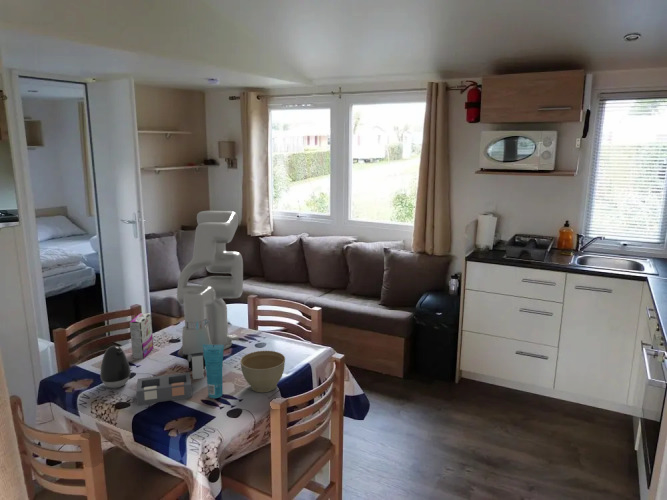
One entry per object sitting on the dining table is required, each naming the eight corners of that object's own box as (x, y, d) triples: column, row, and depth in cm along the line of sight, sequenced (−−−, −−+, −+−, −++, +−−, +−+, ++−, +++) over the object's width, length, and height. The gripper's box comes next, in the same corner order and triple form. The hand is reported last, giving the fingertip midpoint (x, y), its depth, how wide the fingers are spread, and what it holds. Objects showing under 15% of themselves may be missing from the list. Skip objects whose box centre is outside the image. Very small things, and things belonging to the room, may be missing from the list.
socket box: (190, 384, 183) (189, 371, 182) (191, 397, 174) (191, 383, 173) (138, 391, 178) (137, 377, 177) (137, 405, 168) (136, 391, 167)
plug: (203, 373, 192) (201, 349, 190) (203, 378, 189) (202, 353, 187) (192, 374, 191) (191, 350, 189) (193, 379, 187) (191, 354, 185)
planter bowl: (249, 375, 191) (249, 348, 189) (290, 378, 189) (290, 352, 186) (234, 395, 176) (233, 366, 174) (278, 399, 173) (278, 370, 171)
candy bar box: (142, 348, 216) (139, 312, 213) (153, 348, 216) (151, 312, 212) (131, 359, 205) (128, 321, 202) (143, 359, 205) (140, 321, 202)
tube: (226, 391, 178) (224, 341, 174) (225, 398, 173) (223, 347, 170) (205, 392, 177) (203, 342, 174) (203, 399, 173) (201, 347, 169)
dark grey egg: (111, 394, 176) (108, 354, 173) (95, 386, 182) (92, 347, 179) (137, 383, 184) (134, 345, 181) (121, 376, 190) (118, 338, 187)
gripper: (217, 318, 192) (219, 362, 195) (171, 322, 186) (174, 367, 190) (219, 324, 185) (220, 370, 188) (172, 329, 180) (175, 376, 183)
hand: (197, 368), depth 189 cm, fingers closed on plug, 4 cm apart
